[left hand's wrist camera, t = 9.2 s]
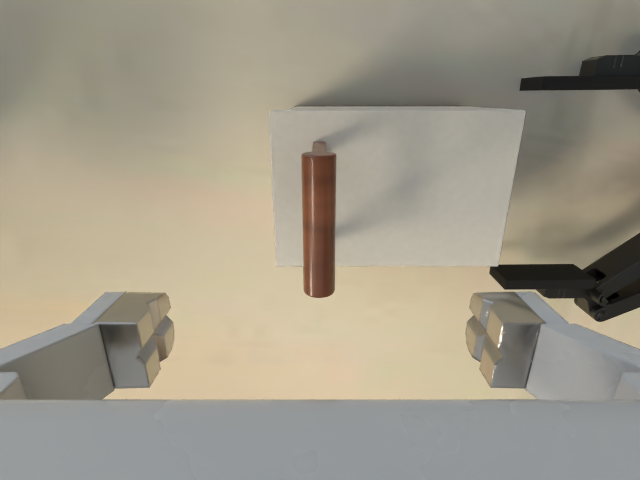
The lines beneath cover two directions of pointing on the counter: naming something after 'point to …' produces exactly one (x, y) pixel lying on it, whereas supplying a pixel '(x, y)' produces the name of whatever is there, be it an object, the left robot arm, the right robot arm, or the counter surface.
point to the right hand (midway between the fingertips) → (511, 189)
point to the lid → (390, 188)
